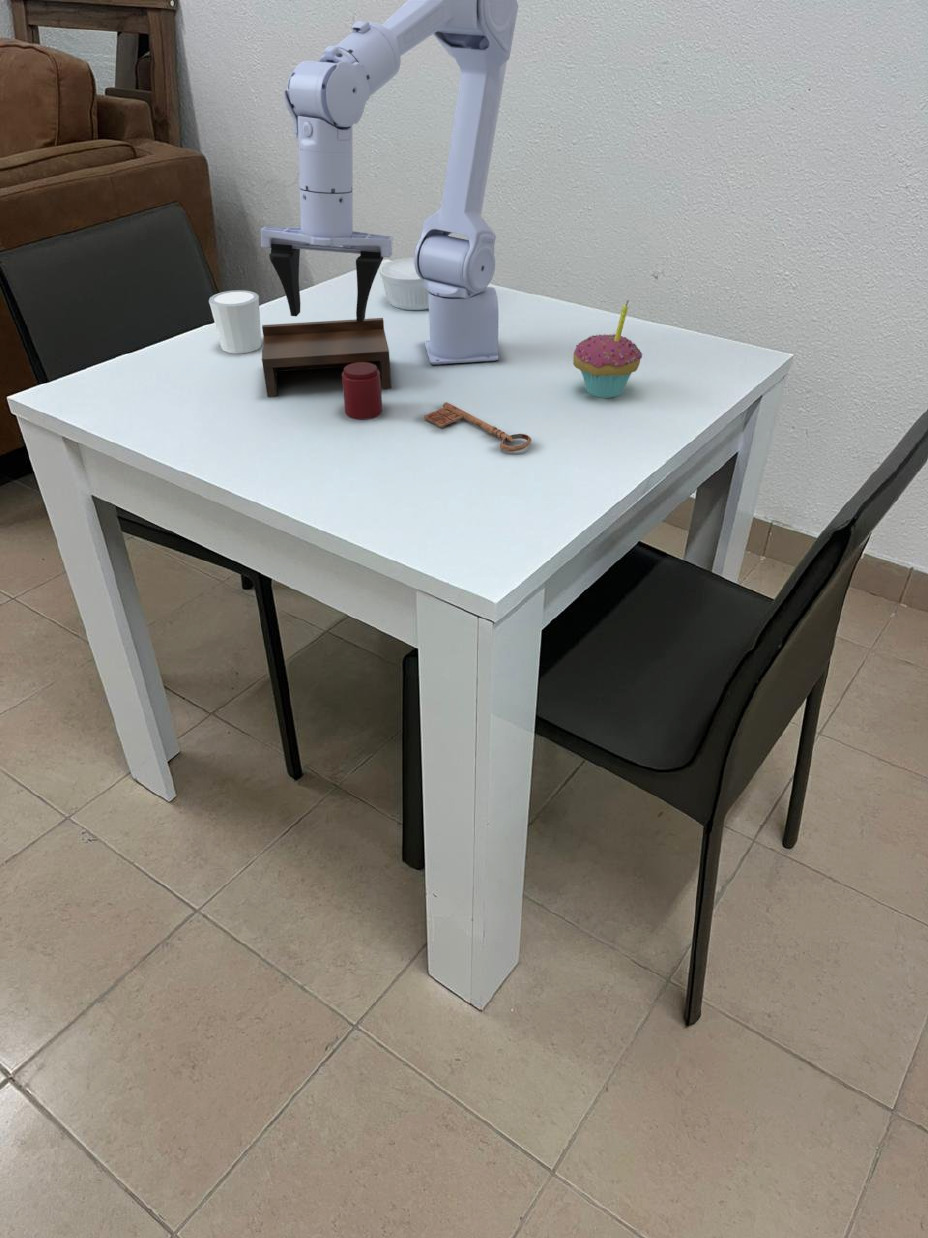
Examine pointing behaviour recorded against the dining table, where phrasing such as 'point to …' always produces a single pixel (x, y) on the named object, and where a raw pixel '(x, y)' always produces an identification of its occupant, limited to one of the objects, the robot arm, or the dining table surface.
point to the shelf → (324, 347)
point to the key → (453, 414)
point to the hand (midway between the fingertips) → (328, 316)
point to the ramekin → (404, 285)
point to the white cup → (237, 320)
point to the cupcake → (607, 361)
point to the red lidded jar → (362, 390)
